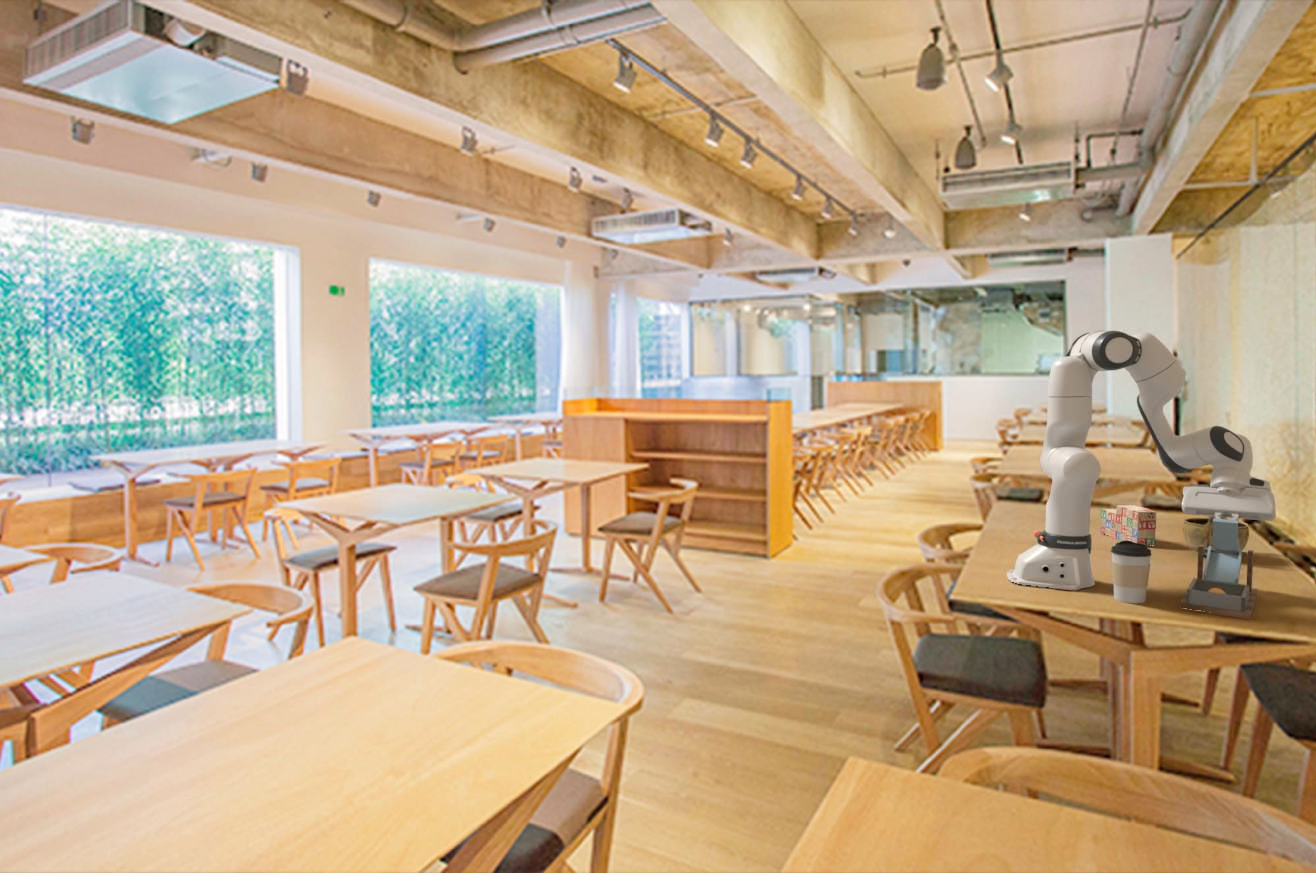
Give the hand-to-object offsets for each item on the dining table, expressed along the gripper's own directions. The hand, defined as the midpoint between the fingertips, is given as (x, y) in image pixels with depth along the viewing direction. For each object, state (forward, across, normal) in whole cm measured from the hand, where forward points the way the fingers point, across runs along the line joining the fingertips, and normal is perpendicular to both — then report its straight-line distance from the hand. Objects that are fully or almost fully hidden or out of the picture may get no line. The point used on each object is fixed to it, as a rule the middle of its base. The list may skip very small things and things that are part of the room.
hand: (1225, 528), depth 201 cm
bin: (+21, 0, +1) cm, 21 cm away
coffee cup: (+27, -18, -2) cm, 32 cm away
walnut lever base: (+18, 0, +6) cm, 20 cm away
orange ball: (+22, 0, -3) cm, 23 cm away
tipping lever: (+8, 0, +11) cm, 13 cm away
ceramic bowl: (-21, -6, +48) cm, 52 cm away
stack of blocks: (-28, -32, +55) cm, 70 cm away
